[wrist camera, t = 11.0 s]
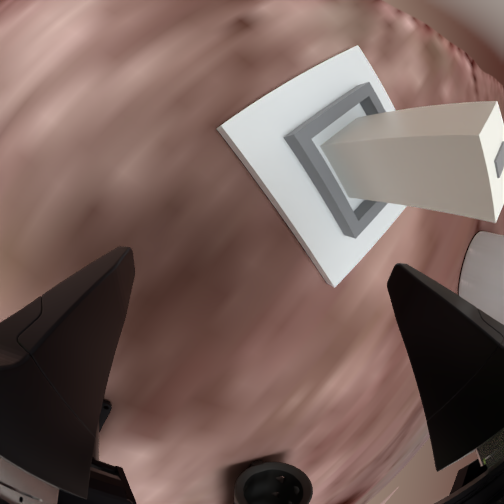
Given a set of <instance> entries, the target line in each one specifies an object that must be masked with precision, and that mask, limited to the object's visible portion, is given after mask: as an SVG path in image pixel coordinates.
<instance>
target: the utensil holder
mask: <svg viewBox="0 0 504 504" xmlns="http://www.w3.org/2000/svg"><path fill="white" fill-rule="evenodd" d="M459 296H460V297H462V298H463V299H465V300H466V301H468V302H469V303H471V304H472V305H474V306H475V307H476V308H478V309H480V310H481V311H483V312H484V313H486V314H488V315H489V316H491V317H492V318H494V319H495V320H497V321H498V322H500V323H501V324H503V325H504V235H499V234H494V233H490V232H485V231H480V232H478V233H477V234H476V235H475V237H474V238H473V240H472V242H471V244H470V246H469V248H468V251H467V254H466V257H465V260H464V263H463V267H462V272H461V277H460V283H459Z"/></svg>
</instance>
